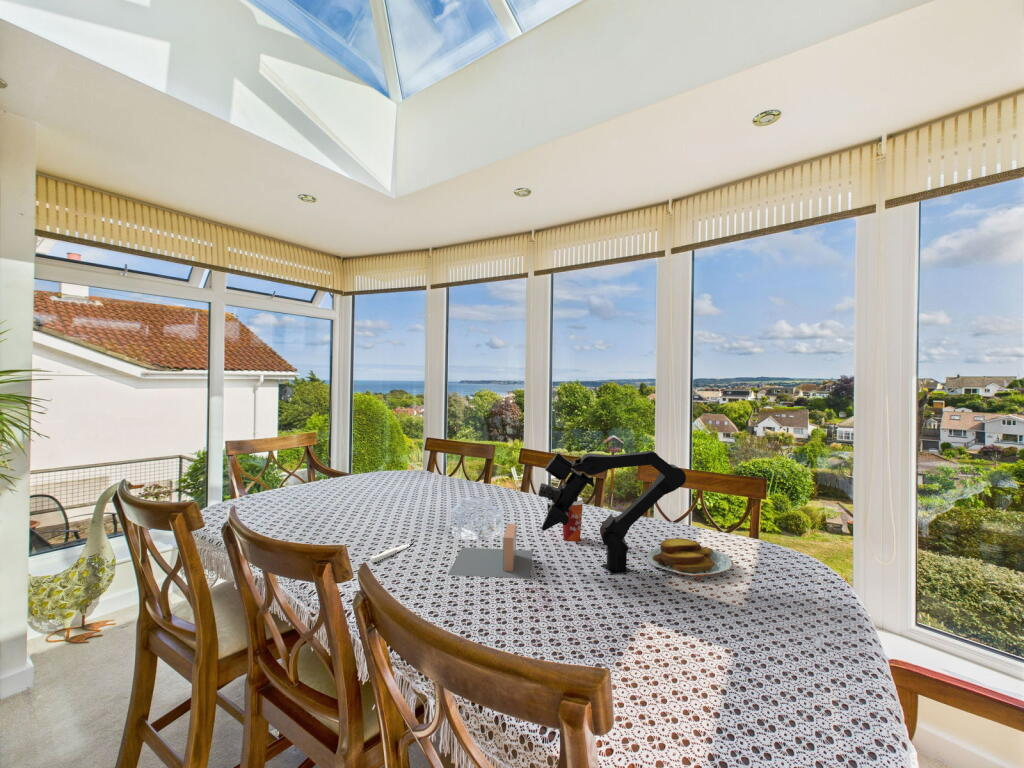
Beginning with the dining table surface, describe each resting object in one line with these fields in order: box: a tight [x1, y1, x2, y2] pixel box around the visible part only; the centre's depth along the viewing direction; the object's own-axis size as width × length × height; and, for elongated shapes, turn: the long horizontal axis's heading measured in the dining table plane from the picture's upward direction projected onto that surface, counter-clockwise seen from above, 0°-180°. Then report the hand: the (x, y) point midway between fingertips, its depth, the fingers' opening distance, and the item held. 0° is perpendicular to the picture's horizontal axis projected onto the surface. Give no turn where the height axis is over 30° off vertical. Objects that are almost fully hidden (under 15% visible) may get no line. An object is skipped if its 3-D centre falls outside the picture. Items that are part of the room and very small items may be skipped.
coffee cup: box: [562, 496, 585, 543], centre depth 165 cm, size 8×8×15 cm
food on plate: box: [645, 537, 734, 582], centre depth 143 cm, size 25×25×7 cm
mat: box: [447, 547, 534, 580], centre depth 141 cm, size 24×22×1 cm
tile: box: [502, 523, 517, 571], centre depth 141 cm, size 3×13×10 cm, turn 175°
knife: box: [369, 544, 411, 563], centre depth 155 cm, size 31×6×2 cm, turn 163°
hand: (542, 529), depth 140 cm, fingers closed
